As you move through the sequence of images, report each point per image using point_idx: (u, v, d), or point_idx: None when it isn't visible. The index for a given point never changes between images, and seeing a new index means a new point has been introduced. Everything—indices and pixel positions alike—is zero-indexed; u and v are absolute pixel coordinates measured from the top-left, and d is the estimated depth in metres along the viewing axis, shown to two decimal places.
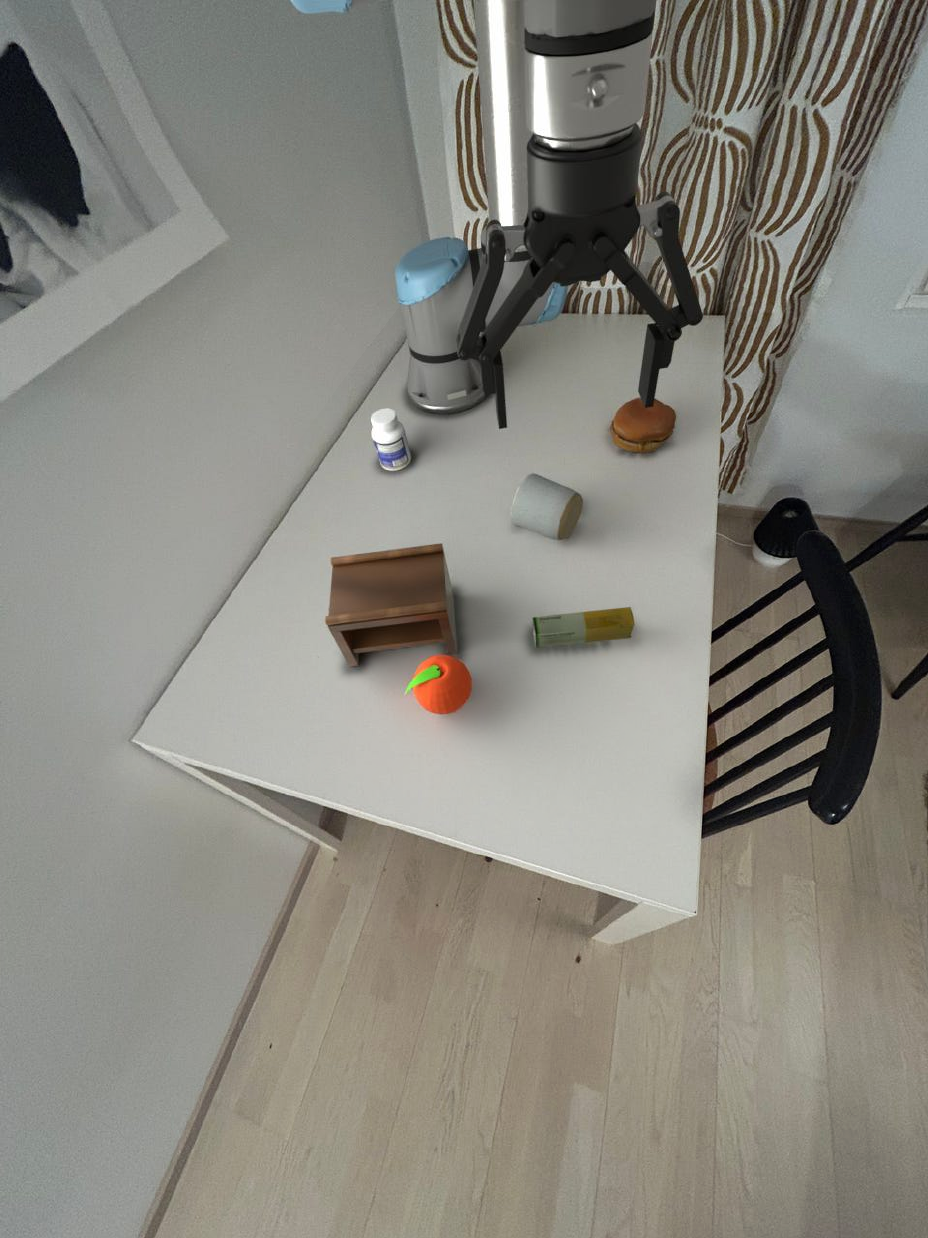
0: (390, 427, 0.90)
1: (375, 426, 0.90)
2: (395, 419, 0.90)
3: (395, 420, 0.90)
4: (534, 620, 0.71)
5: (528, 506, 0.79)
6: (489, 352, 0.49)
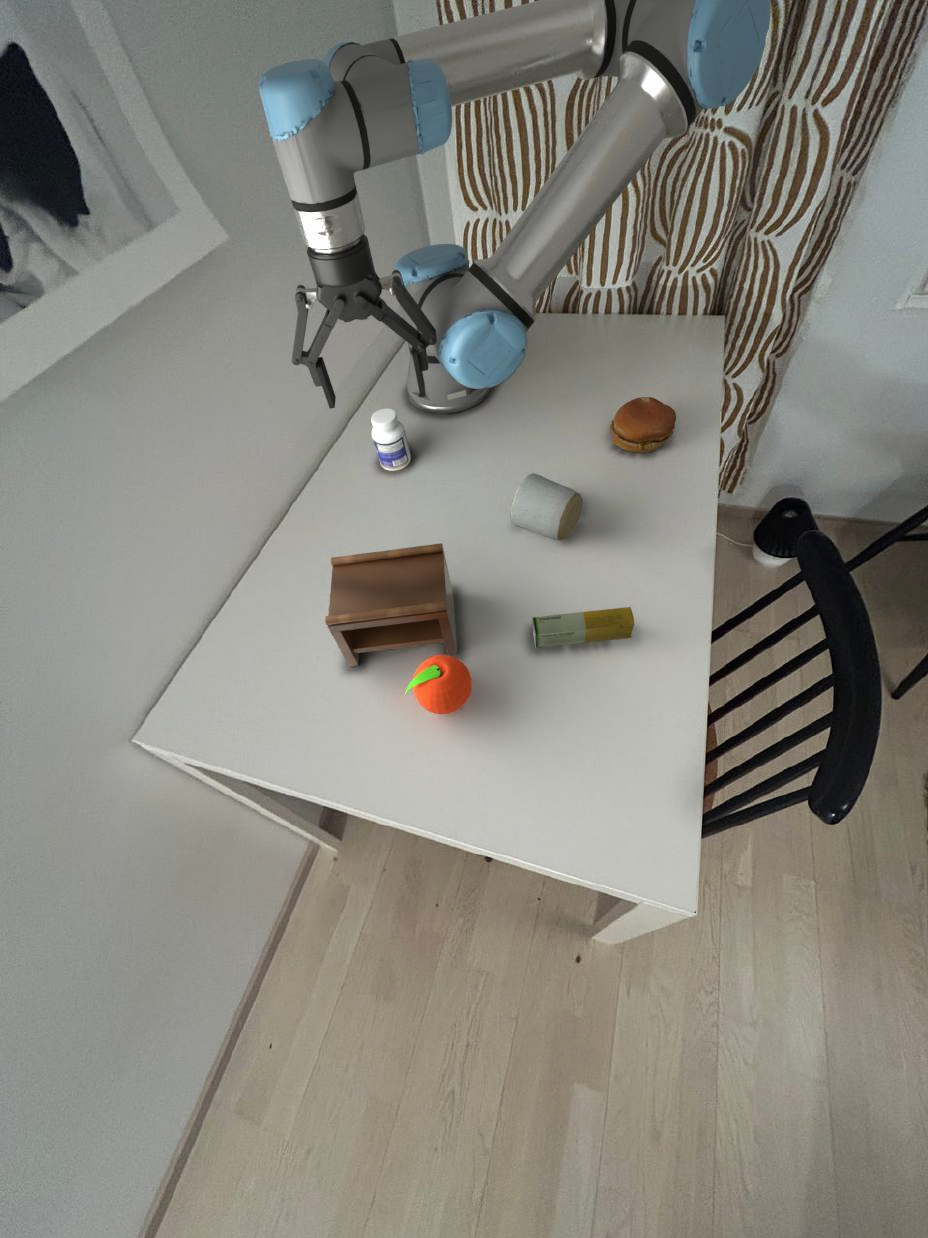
0: (390, 427, 0.90)
1: (375, 426, 0.90)
2: (395, 419, 0.90)
3: (395, 420, 0.90)
4: (534, 620, 0.71)
5: (528, 506, 0.79)
6: (311, 360, 0.81)
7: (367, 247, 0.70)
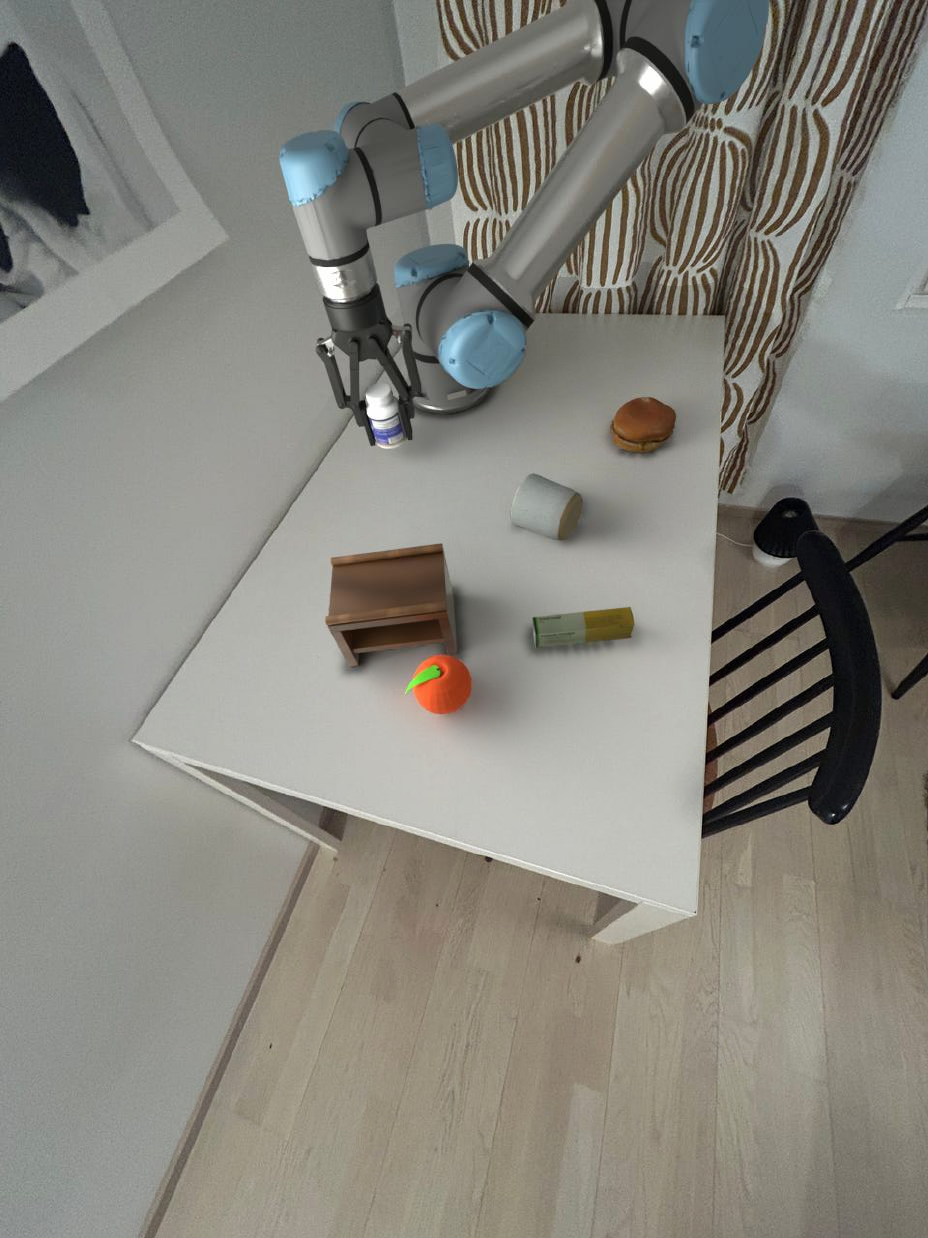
0: (385, 402, 0.86)
1: (369, 401, 0.86)
2: (390, 393, 0.86)
3: (390, 394, 0.86)
4: (534, 620, 0.71)
5: (528, 506, 0.79)
6: (354, 404, 0.87)
7: (379, 295, 0.75)
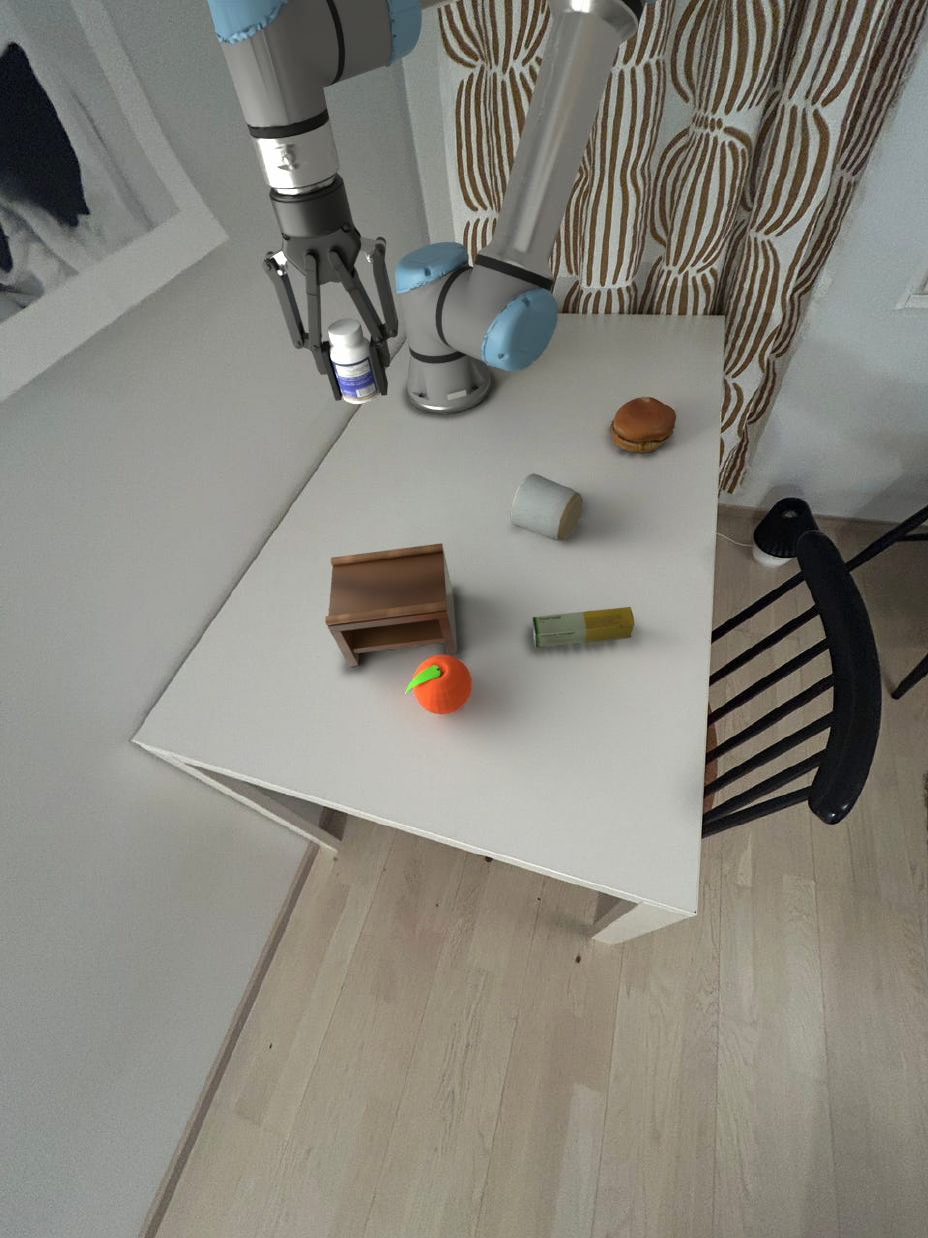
0: (351, 341, 0.69)
1: (332, 339, 0.69)
2: (359, 331, 0.69)
3: (359, 332, 0.69)
4: (534, 620, 0.71)
5: (528, 506, 0.79)
6: (313, 343, 0.70)
7: (342, 190, 0.58)
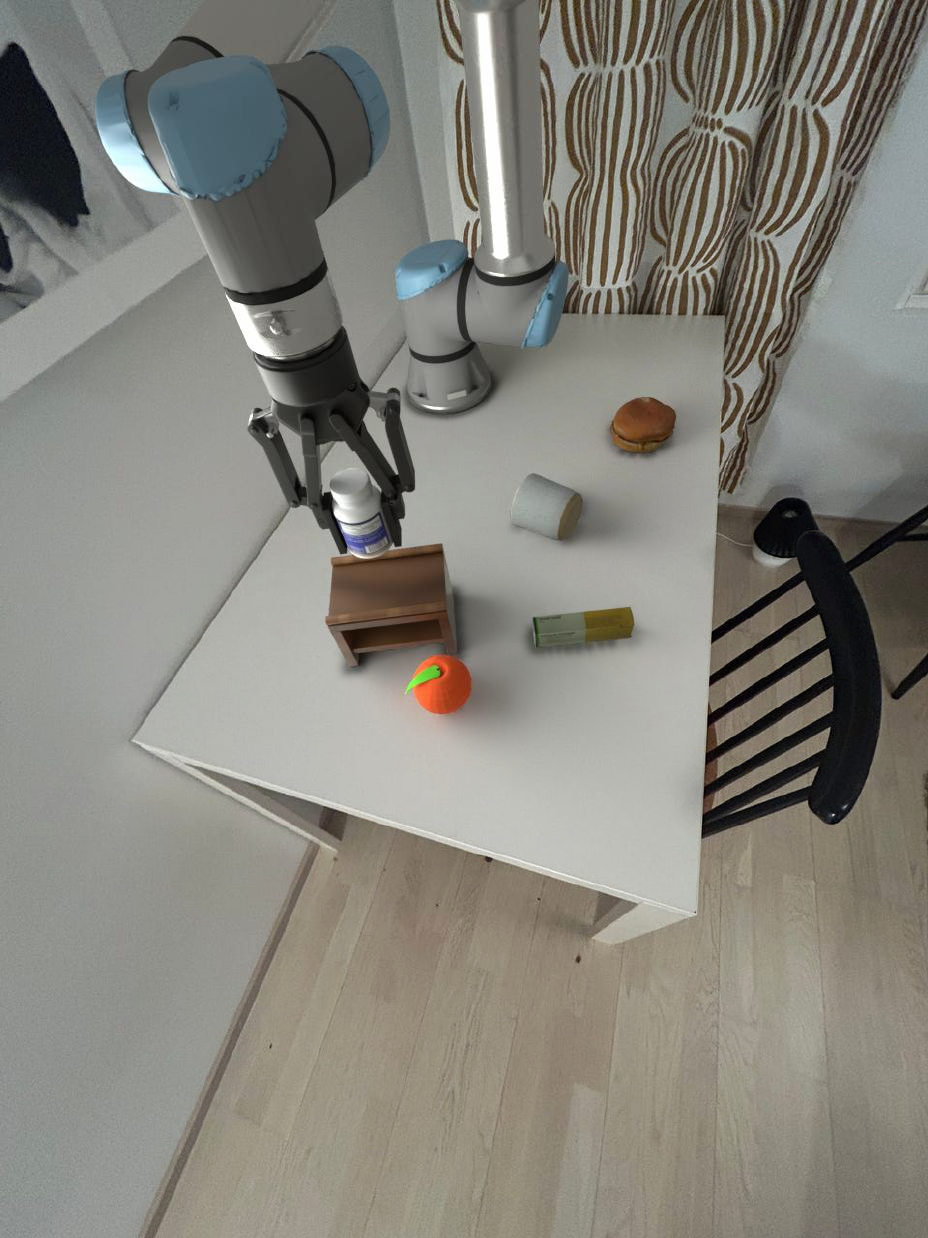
0: (359, 500, 0.57)
1: (336, 497, 0.57)
2: (367, 486, 0.57)
3: (368, 488, 0.57)
4: (534, 620, 0.71)
5: (528, 506, 0.79)
6: (313, 502, 0.57)
7: (346, 348, 0.45)
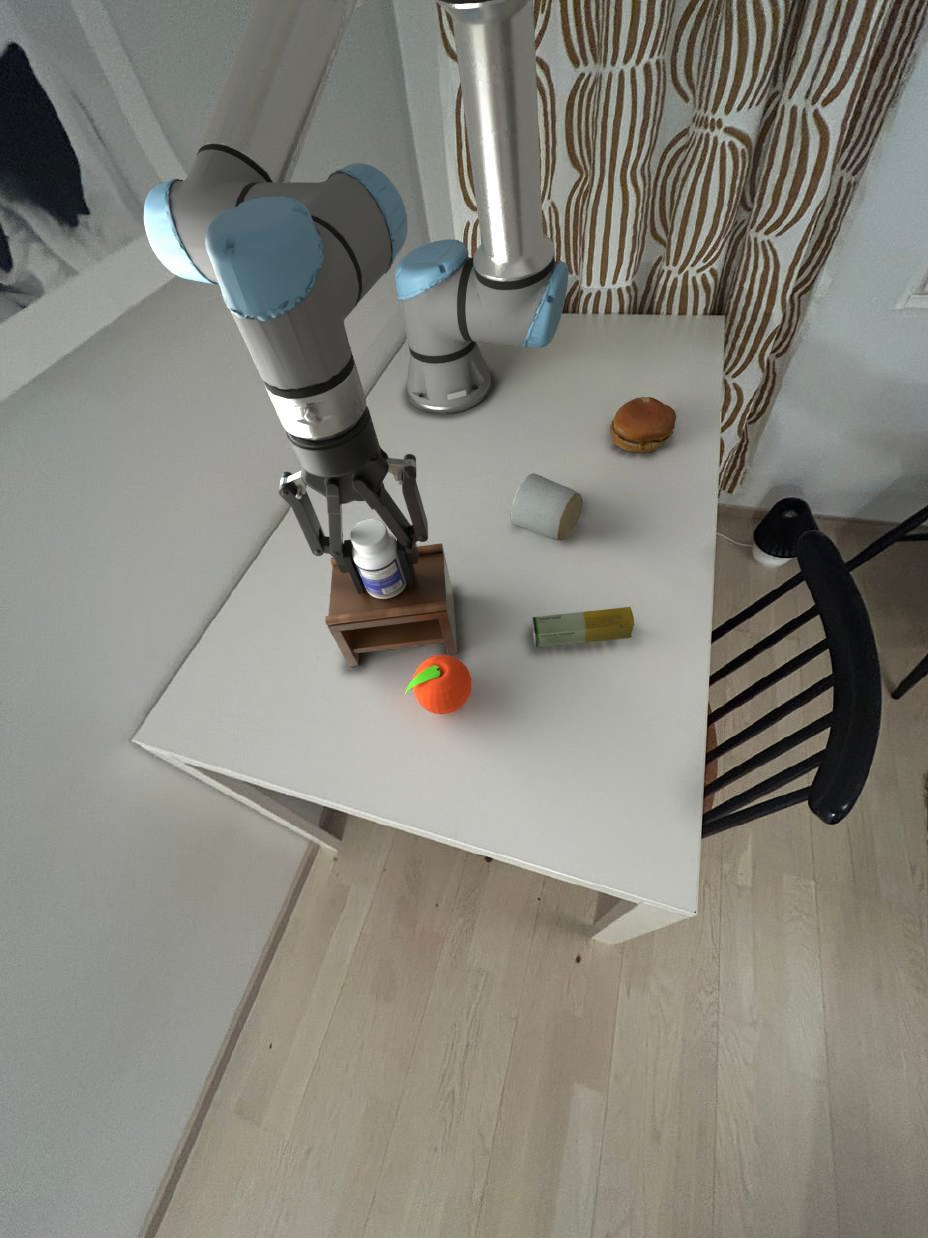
0: (377, 549, 0.62)
1: (356, 547, 0.62)
2: (385, 537, 0.62)
3: (385, 539, 0.62)
4: (534, 620, 0.71)
5: (528, 506, 0.79)
6: (335, 551, 0.63)
7: (369, 426, 0.51)
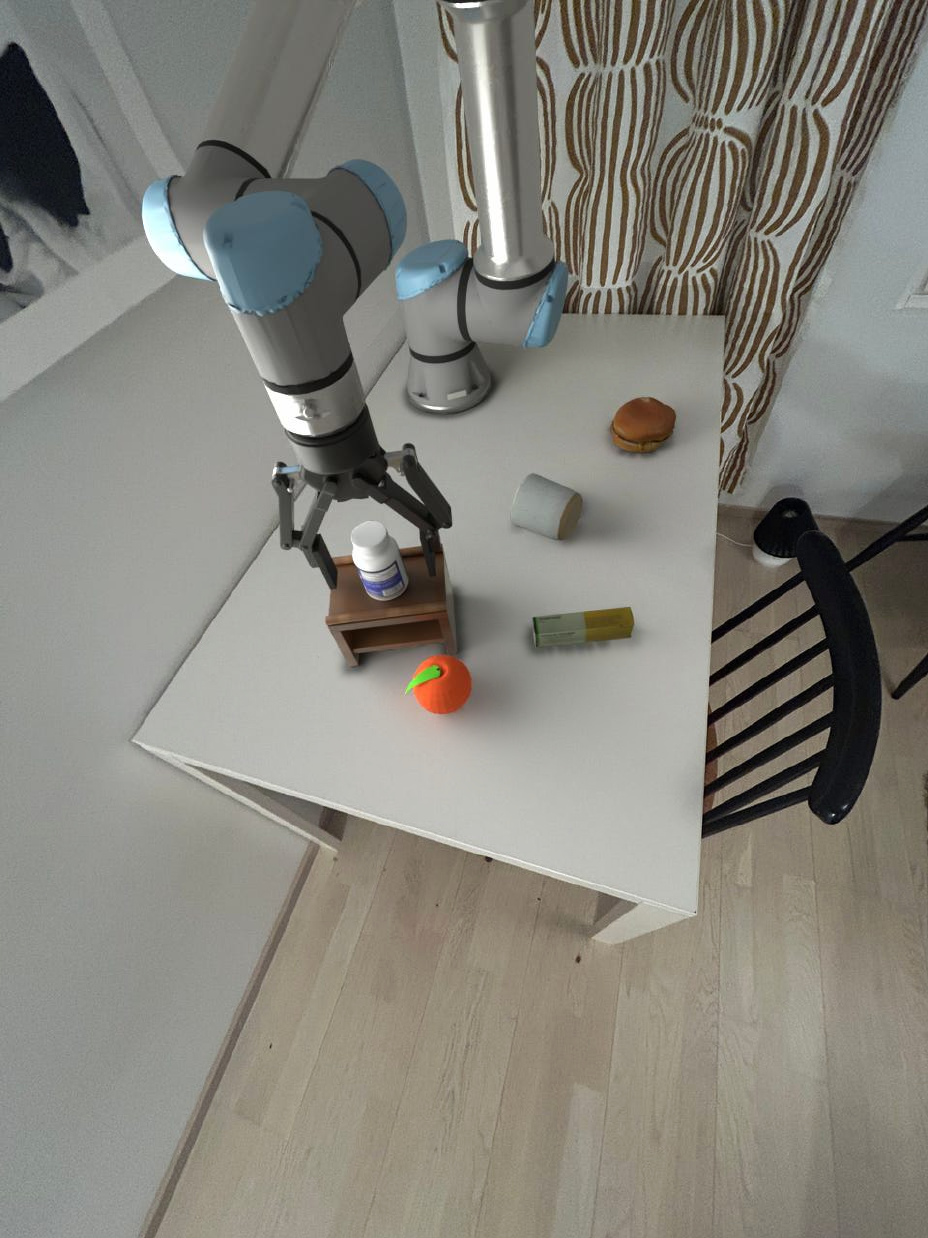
0: (378, 551, 0.63)
1: (357, 549, 0.63)
2: (385, 539, 0.63)
3: (385, 540, 0.63)
4: (534, 620, 0.71)
5: (528, 506, 0.79)
6: (305, 545, 0.62)
7: (368, 423, 0.50)
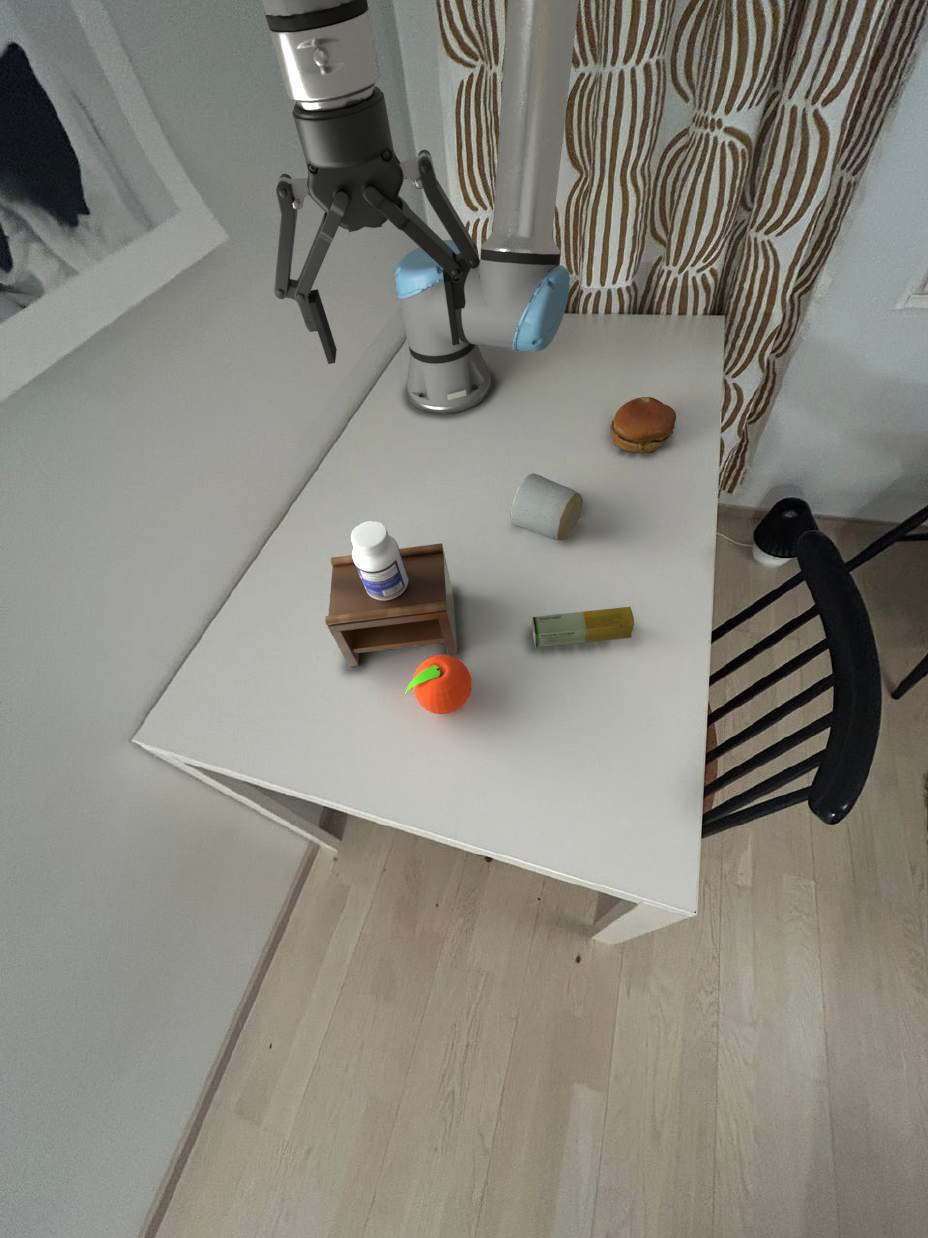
0: (378, 551, 0.63)
1: (357, 549, 0.63)
2: (385, 539, 0.63)
3: (385, 540, 0.63)
4: (534, 620, 0.71)
5: (528, 506, 0.79)
6: (301, 291, 0.57)
7: (383, 105, 0.46)
